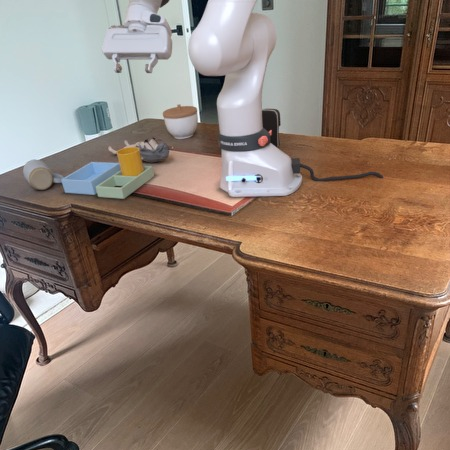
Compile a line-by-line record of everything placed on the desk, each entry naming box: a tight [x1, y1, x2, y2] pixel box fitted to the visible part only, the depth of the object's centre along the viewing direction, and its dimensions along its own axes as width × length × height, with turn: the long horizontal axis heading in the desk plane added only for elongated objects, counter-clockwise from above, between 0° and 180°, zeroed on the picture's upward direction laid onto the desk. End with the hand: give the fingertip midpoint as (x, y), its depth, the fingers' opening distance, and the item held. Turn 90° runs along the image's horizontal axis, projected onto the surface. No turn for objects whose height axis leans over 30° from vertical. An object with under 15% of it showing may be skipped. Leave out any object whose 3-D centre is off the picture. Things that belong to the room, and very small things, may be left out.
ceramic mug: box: [22, 158, 65, 191], centre depth 134 cm, size 11×8×8 cm
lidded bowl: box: [162, 103, 199, 140], centre depth 162 cm, size 13×13×11 cm
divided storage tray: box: [96, 165, 156, 200], centre depth 128 cm, size 9×17×3 cm, turn 157°
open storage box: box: [61, 161, 120, 196], centre depth 132 cm, size 11×15×4 cm
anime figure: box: [107, 137, 170, 164], centre depth 146 cm, size 10×7×30 cm
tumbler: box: [115, 147, 144, 176], centre depth 129 cm, size 7×7×9 cm
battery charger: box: [262, 108, 282, 148], centre depth 142 cm, size 7×4×11 cm, turn 58°
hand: (132, 71), depth 124 cm, fingers open, 8 cm apart
